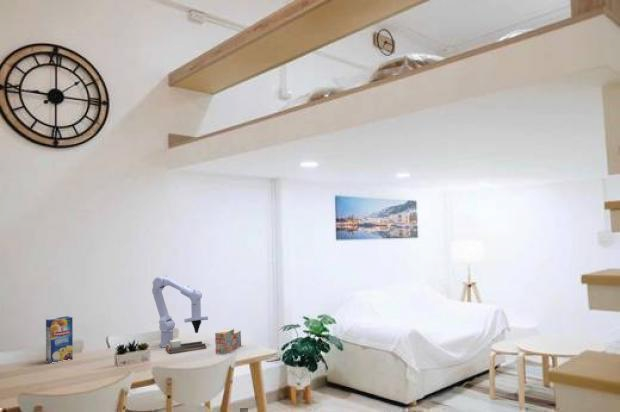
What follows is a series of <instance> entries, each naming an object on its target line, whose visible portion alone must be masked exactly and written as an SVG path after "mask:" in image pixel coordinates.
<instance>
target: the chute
mask: <svg viewBox="0 0 620 412" xmlns="http://www.w3.org/2000/svg"><path fill="white" fill-rule="evenodd" d="M164 348H165V351H166V353H168V354H169V355H174V354H180V353H186V352H188V353H189V352H193V351H194V352H195V351H200V350H201V351H202V350H207V346H206V342H205V343H203V341H202V340H200V341H194V342H187V343H180V347H176V348H171V346H170V345H169V344H166V347H164Z"/></svg>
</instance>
